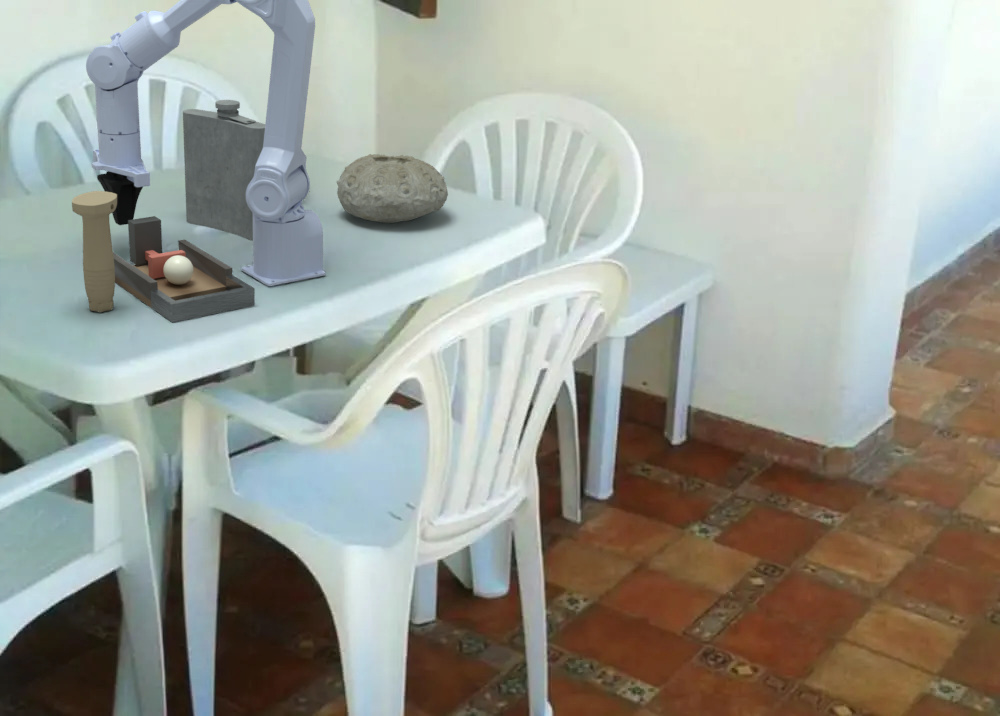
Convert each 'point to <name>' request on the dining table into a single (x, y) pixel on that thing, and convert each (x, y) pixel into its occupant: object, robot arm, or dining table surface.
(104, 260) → the handle
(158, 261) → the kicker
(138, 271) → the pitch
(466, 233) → the dining table surface
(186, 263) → the ball
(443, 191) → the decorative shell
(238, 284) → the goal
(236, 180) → the hip flask
